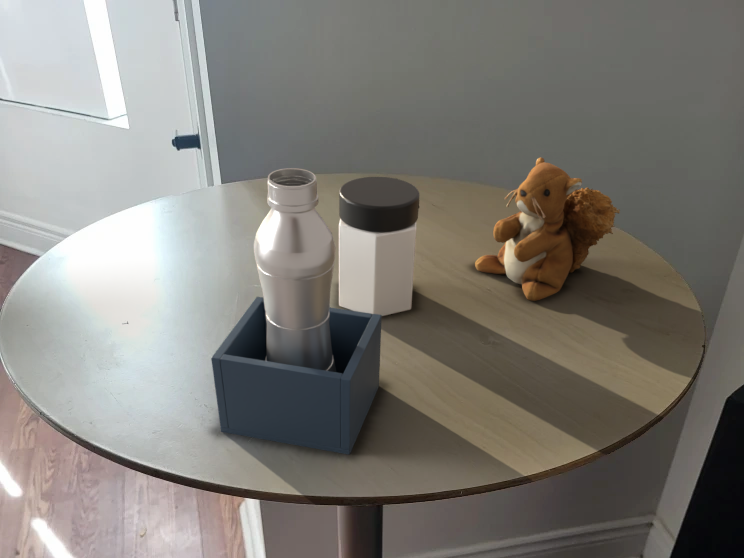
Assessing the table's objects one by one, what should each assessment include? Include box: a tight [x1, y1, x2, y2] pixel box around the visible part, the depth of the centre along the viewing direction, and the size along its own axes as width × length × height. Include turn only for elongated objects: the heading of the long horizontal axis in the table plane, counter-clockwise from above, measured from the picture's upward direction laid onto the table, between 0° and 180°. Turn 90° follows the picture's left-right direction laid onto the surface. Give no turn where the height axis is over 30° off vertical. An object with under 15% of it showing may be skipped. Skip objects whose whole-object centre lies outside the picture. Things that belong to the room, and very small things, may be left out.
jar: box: [338, 176, 420, 317], centre depth 82 cm, size 9×8×12 cm
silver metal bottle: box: [253, 167, 337, 372], centre depth 63 cm, size 6×7×20 cm
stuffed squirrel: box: [474, 157, 621, 302], centre depth 87 cm, size 10×14×13 cm
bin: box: [210, 296, 383, 455], centre depth 68 cm, size 12×11×8 cm
